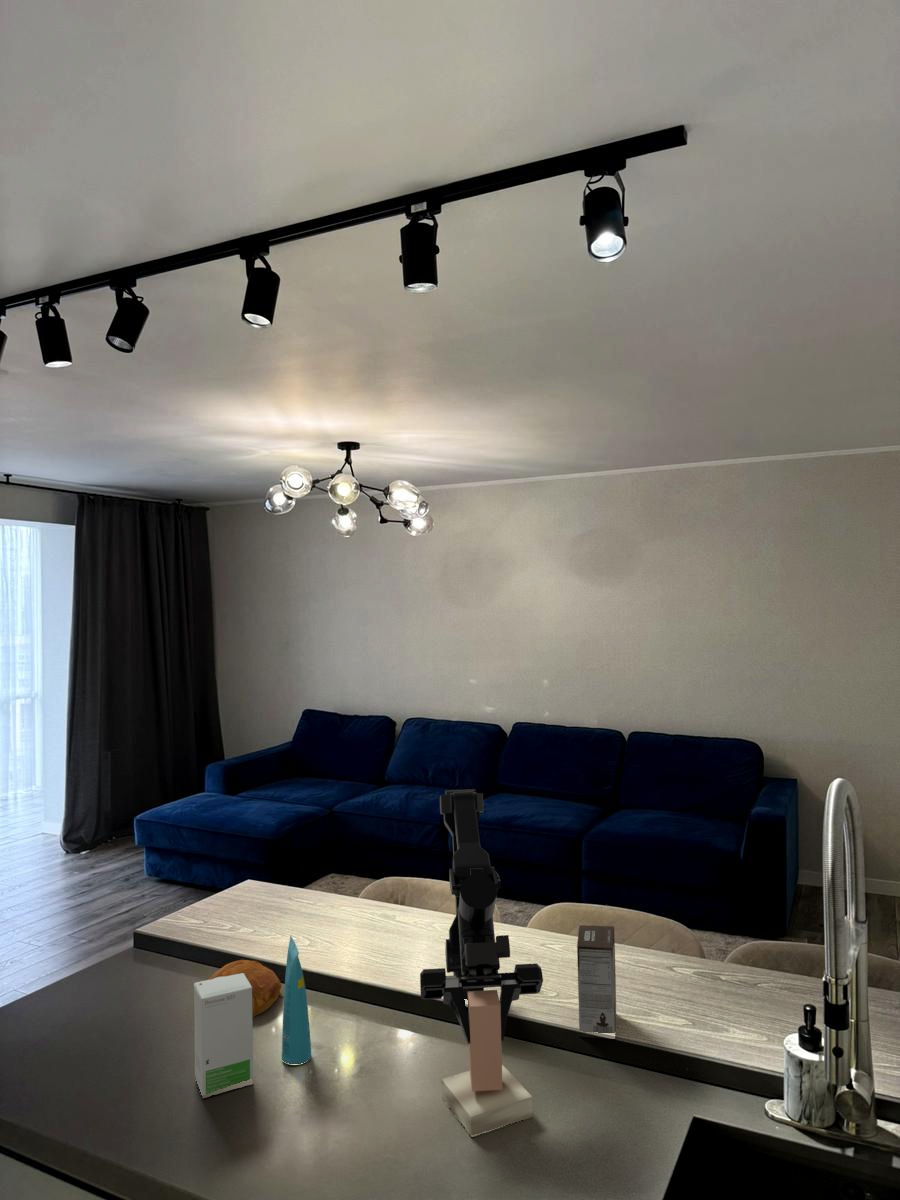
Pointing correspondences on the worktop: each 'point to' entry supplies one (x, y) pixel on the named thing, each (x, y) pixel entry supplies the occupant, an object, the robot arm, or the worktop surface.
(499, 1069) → the column
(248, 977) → the bread loaf
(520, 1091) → the plinth
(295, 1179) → the worktop surface
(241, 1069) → the skincare box
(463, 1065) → the worktop surface
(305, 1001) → the tube
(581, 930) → the coffee box
